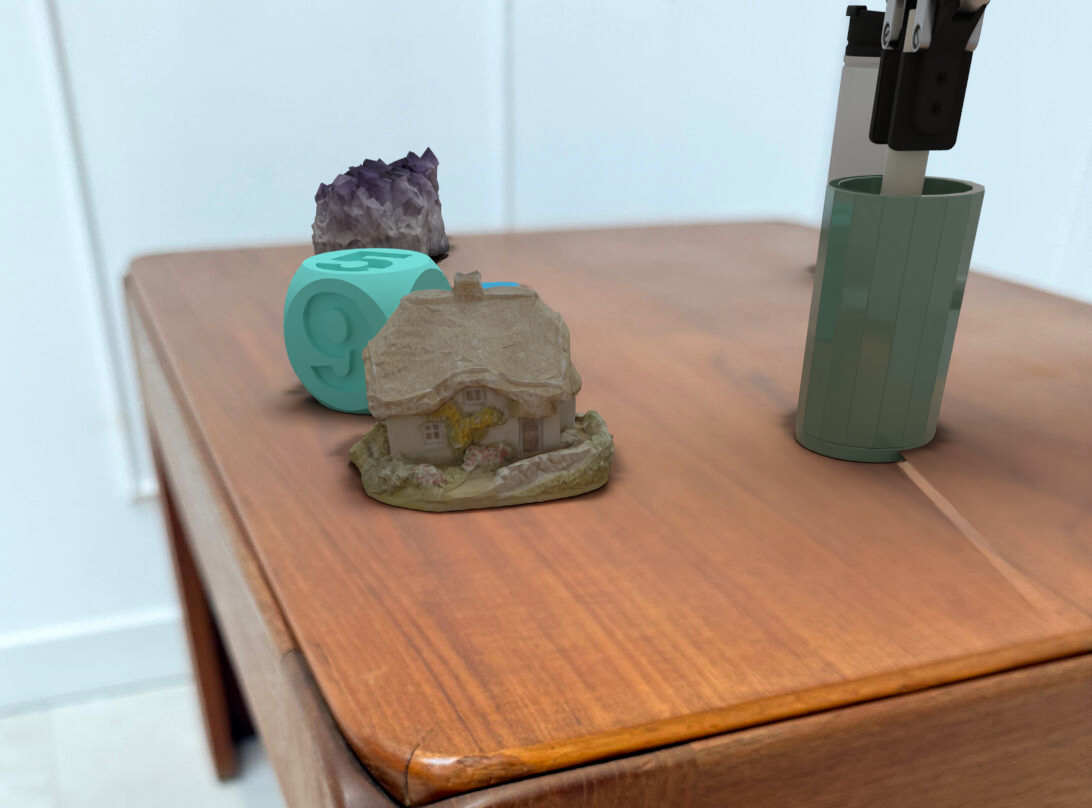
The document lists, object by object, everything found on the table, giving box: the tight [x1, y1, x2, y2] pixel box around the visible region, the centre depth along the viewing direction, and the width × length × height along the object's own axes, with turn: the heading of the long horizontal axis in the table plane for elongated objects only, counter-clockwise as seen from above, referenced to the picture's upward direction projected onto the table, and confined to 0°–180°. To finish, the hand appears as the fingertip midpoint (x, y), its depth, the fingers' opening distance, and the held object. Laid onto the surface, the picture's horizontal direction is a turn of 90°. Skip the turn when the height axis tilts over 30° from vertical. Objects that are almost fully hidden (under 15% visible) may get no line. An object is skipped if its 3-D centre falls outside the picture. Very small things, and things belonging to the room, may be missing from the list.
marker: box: [880, 9, 930, 195], centre depth 55 cm, size 3×3×15 cm
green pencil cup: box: [794, 175, 986, 464], centre depth 58 cm, size 8×8×13 cm
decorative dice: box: [282, 248, 453, 415], centre depth 68 cm, size 8×8×8 cm
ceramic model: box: [347, 269, 616, 513], centre depth 56 cm, size 14×11×10 cm
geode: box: [310, 146, 450, 258], centre depth 102 cm, size 20×12×10 cm, turn 172°
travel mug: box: [826, 4, 888, 185], centre depth 91 cm, size 6×7×20 cm
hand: (910, 143), depth 54 cm, fingers closed on marker, 2 cm apart
